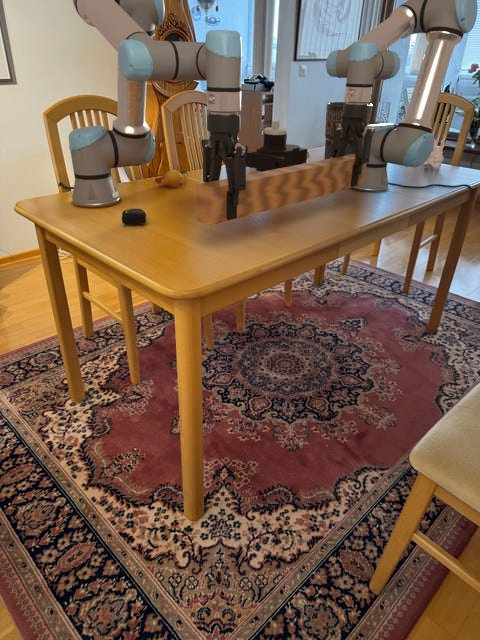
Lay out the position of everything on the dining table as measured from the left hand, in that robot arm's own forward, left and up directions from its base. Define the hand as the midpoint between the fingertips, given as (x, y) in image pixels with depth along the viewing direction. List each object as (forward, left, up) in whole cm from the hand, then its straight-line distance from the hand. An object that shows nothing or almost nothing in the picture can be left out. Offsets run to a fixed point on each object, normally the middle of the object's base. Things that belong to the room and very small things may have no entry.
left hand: (223, 215), depth 112 cm
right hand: (+5, +52, 0) cm, 53 cm away
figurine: (+2, +142, -10) cm, 143 cm away
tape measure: (-33, -2, -10) cm, 34 cm away
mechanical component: (-43, +84, -10) cm, 95 cm away
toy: (-60, +38, -10) cm, 71 cm away
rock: (-46, +150, -10) cm, 157 cm away
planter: (-30, +116, -10) cm, 120 cm away
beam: (+3, +26, -1) cm, 26 cm away
